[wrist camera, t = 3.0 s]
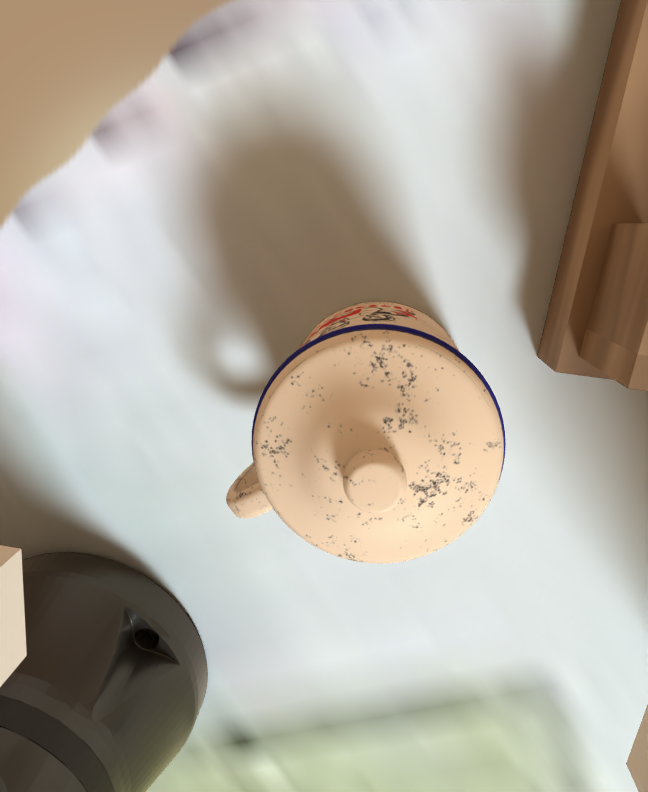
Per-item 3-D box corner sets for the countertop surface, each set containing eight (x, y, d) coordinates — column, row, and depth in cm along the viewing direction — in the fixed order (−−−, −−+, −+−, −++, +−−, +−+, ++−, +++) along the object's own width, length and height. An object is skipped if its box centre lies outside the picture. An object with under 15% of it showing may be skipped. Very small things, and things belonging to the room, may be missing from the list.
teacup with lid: (410, 258, 26) (430, 280, 15) (502, 415, 28) (581, 538, 17) (208, 385, 29) (102, 482, 18) (303, 522, 31) (260, 686, 20)
